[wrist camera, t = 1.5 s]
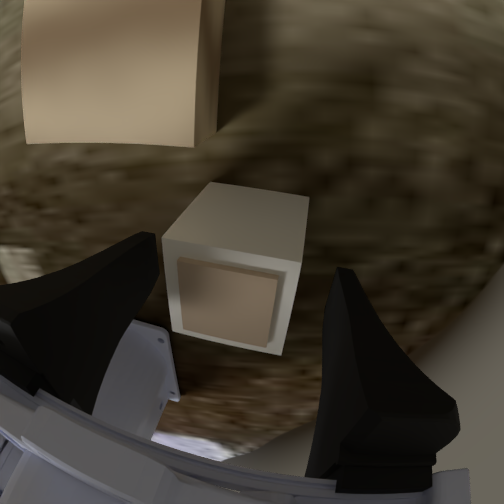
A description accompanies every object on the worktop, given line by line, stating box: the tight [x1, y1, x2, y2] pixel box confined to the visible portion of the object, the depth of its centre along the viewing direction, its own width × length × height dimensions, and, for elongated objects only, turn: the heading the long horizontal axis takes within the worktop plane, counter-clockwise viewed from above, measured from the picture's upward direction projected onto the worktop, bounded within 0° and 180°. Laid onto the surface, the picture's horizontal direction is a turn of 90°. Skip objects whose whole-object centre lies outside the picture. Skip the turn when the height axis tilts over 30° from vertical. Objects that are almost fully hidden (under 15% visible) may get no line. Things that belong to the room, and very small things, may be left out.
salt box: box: [162, 182, 309, 355], centre depth 13 cm, size 4×4×5 cm
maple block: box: [21, 0, 225, 147], centre depth 10 cm, size 9×9×3 cm
